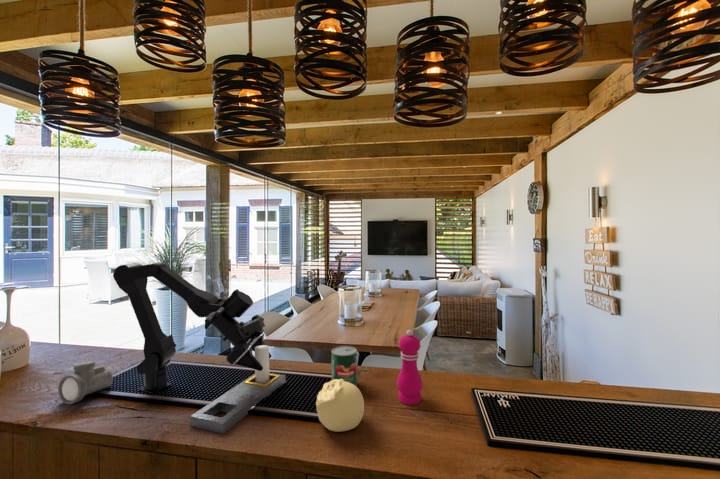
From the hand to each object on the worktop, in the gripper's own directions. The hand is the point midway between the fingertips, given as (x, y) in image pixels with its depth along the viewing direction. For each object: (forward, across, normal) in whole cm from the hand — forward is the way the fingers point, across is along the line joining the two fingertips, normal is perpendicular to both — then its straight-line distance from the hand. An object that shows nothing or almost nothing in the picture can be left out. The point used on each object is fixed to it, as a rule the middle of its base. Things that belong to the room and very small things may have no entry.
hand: (266, 363), depth 106 cm
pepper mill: (+36, -7, -25) cm, 44 cm away
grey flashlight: (-31, -4, +42) cm, 53 cm away
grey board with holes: (+2, -9, +8) cm, 12 cm away
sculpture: (+22, -20, -11) cm, 32 cm away
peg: (+4, 0, +6) cm, 8 cm away
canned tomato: (+22, +2, -11) cm, 25 cm away
